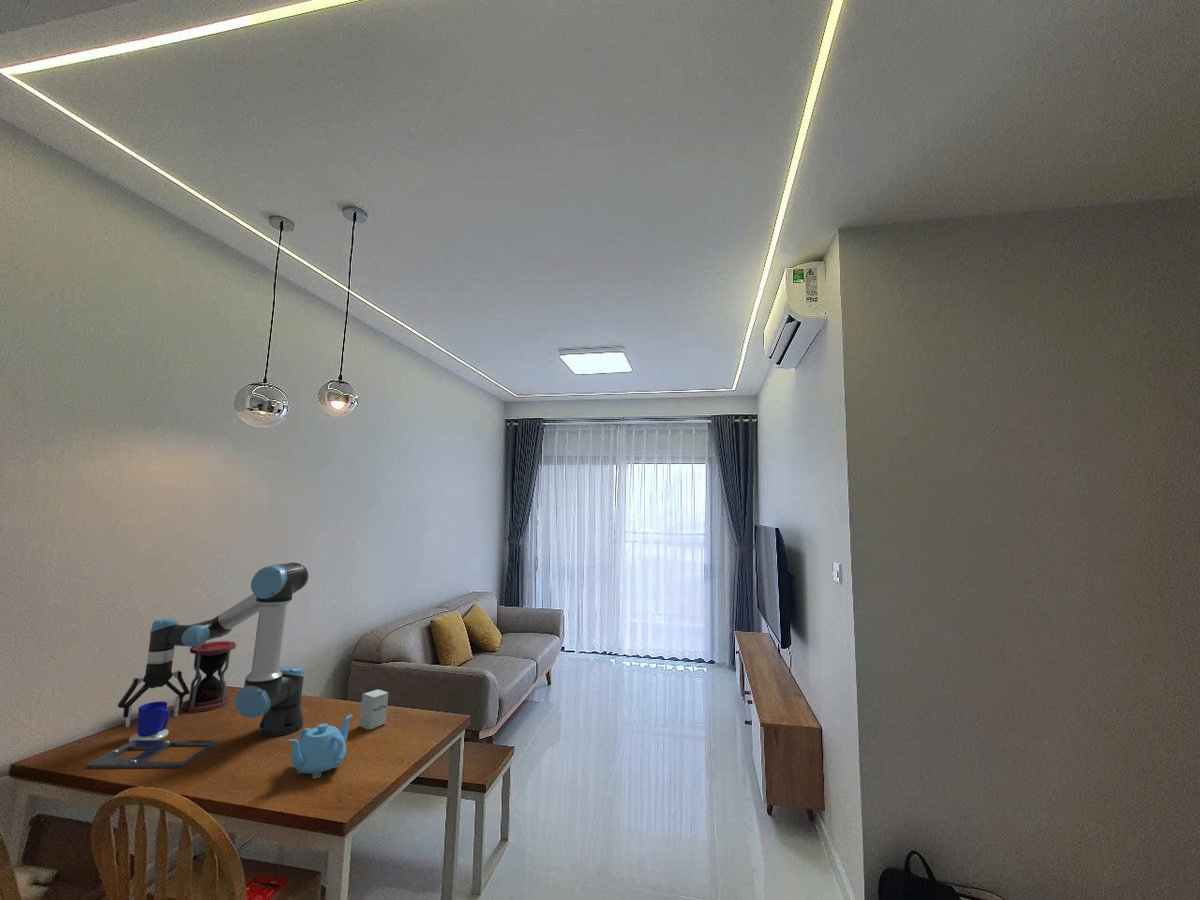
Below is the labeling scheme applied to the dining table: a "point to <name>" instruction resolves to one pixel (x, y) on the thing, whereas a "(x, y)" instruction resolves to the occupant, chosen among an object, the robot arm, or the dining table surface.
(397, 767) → the dining table surface
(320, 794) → the dining table surface
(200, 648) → the hourglass
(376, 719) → the supplement box
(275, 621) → the robot arm
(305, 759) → the teapot
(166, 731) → the pale grey rounded piece
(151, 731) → the mug
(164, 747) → the gray cutout board
